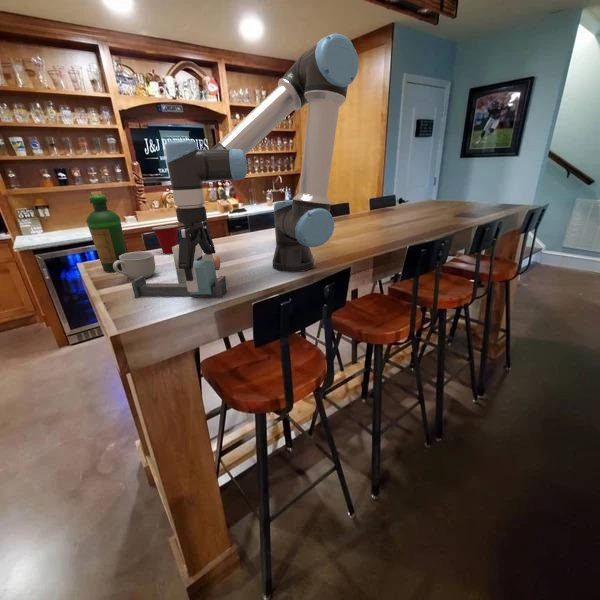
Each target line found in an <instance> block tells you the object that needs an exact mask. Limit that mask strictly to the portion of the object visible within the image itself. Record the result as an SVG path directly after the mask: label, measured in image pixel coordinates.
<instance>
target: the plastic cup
mask: <svg viewBox="0 0 600 600" xmlns="http://www.w3.org/2000/svg"><path fill="white" fill-rule="evenodd" d="M178 228H179V225H178V224H170V225H161V226H156V227H152V228H151V229H152V230H153V232H154V234H155V237H156V239H157V241H158V244H159V246H160V248H161V251H162V253H163V255H173V251H172V247H174V246H176V245H178Z"/></svg>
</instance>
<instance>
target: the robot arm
mask: <svg viewBox="0 0 600 600" xmlns="http://www.w3.org/2000/svg"><path fill="white" fill-rule="evenodd" d="M358 72H359V56H358V53H357V50H356V48H355V47H354V44H353V43H352V41H351V40H350V39H349V38H348V37H347V36H345V35H343V34H341V33H331V34H329V35H327V36H324V37H322V38H321V39H320V40H319V41H318V42H317V43H315V45H313V46H312V47H310V48H309V49H307V50H306V51H304V52H303V53H302V54H301V55H300V56H299V57H298V58H297V60H296V61H295V62H294V63H293V64H292V66H291V67H290V68H289V69H288V70H287V72H285V74H284V75H283V76H282V77H281V78H280V79H279V80H278V82H277V87H276V88H275V89H274V90H272V91H271V93H270V94H268V95H267V96H266V97H265V98H264V99H263V100H262V101H261V102H260V103H259V104H257V106H255V108H253V109H252V110H251V111H250V112H249V113H248V114H247V115H246V116H245V117H243V119H242V120H241V121H239V123H238V124H236V125H235V127H233V128H232V129H231V130H230V131H229V132H228V133H227V134H226V135H225V136H224V137H222V139H220V140H219V141H218V142H217V143H216V144H215V145H214V146H213V147H212V148H211V149H201V148H200V149H199V148H198V146H197V143H196V141H195V140H189V139H187V140H186V139H185V140H184V139H181V140H179V139H177V140H176V139H175V140H169V141H166V143H165V145H164V148H165V156H166V165H167V170H168V174H169V179H170V180H169V181H170V185H171V190H172V194H171V196H172V197H173V201H174V205H175V206H176V209H175V214H176V219H177V222H178V223H179V224H182V225H183V229H182V228H181V229H177V234H178V244H179V260H178V267H179V269H184V273H185V279H186V284H187V290H188V292H198V291H199V290H198V284H197V278H196V272H195V268H193V263H194V256H195V249H196V246H197V245H198V244H199V245H200V247H201V249H202V252H203V259H204V261H213V259H214V255H213V254H216V247H215V243H214V242H213V237H212V236H211V233H210V229H209V226H208V222H207V219H208V218H207V216H208V215H207V209H206V206H204V205H205V204H206V200H205V194H204V187H203V182H212V181H214V182H216V181H236V180H237V181H238V180H244V179H245V178H246V177H247V175H248V163H247V162H248V161H247V155H248V154H249V153H250V152H251V151H252V150H253V149H254V148H255V147H257V145H258V144H259V143H261V141H262V140H264V139H265V137H267V136H268V135H269V134H270V133H271V132H272V131H273V130H274V129H275V128H276V127H277V126H279V125H280V124H281V122H283V121H284V120H285V119H286V118H288V116H289V115H290V114H291V113H292V112H293V111H300V110H301V109H302V108H303V107H304V106H305V105H306V104H308V105H307V106H308V107H307V117H306V125H305V132H304V133H305V134H304V135H305V136H304V144H303V151H302V161H301V167H300V168H301V171H300V179H299V186H298V187H299V188H298V193H297V194H296V195H295V196H294V197H292V200H285V201H277V202H275V203H274V206H273V217H274V219H273V220H274V231H275V233H274V234H275V251H274V253H273V257H272V268H273V270H276V271H280V272H284V273H285V272H286V273H289V272H290V273H293V272H294V273H296V272H304V271H308V270H310V269H312V268H314V266H315V258H314V256H313V253H312V250H311V248H317V247H320V246H321V247H322V246H323V245H324V244H326V242H328V241H329V240H330V239H331V238H332V235H333V234H334V230H335V220H334V217H333V215H332V214H331V204H332V203H331V201H330V200H329V198H328V190H329V183H330V178H331V177H330V176H331V175H330V174H331V169H332V161H333V155H334V154H333V153H334V148H335V140H336V132H337V125H338V119H339V112H340V107H341V106H342V105H343V104H344V103H345V102H346V101H347V93H348V89H349V88H348V87H349V86H350V85H351V84H352V83H353V81H354V80H355V79H356V77H357V74H358Z"/></svg>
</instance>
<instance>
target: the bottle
mask: <svg viewBox="0 0 600 600" xmlns="http://www.w3.org/2000/svg"><path fill="white" fill-rule="evenodd" d="M90 194H91V195H90V196H89V204H92V207H93V210H94V211H92V212H91V213H89V215H88V216H87V218H86V220H85V221H86V225H87V227H88V229H89V233H90V236H91V239H92V241H93V244H94V246H95V250H96V252H97V253H96V254H97V255H98V259H99V261H100V263H101V266H102V269H103V271H104V272H108V273H117V272H116V271H115V270H114V269H113V264H114V262H115V261H117V260H120V259H119V256H120V255H122V254H125V253H127V248H126V242H125V238H124V232H123V228H122V227H123V226H122V220H121V217H120V216H119V215H118V213H116V212H114V211H113V210H110V209H108V204H107V203H108V202H109V201H108V199H107V196H106V195H105V194H103V192H102V191H101V190H99V191H91V192H90ZM117 268H118V269H119V270H120V271H122V267H121V264H120V263H119V264H118V265H117Z"/></svg>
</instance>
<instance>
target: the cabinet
mask: <svg viewBox="0 0 600 600" xmlns="http://www.w3.org/2000/svg"><path fill="white" fill-rule="evenodd" d="M172 251H173V254H172V256H173V260H174V261H173V262H174V265H175V266H174V267H175V271H176V277H177V283H186V279H185V273H184V269H179V267H178V260H179V243H177V245H176V246H174V247H172ZM203 255H204V252H203V250H202V249H201V247H200V245H199V244H198V245H197V246H196V249H195V256H194V261H199V259H203Z"/></svg>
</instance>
